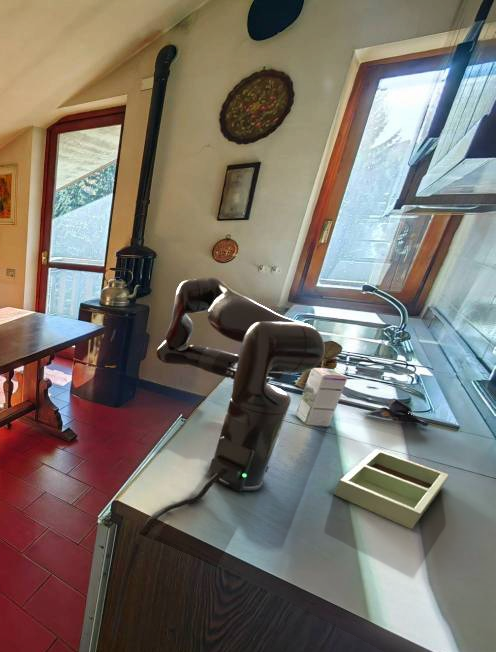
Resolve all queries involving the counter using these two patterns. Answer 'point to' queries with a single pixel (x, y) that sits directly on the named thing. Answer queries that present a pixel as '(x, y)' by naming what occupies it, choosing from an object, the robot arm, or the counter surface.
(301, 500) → the counter surface
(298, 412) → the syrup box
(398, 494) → the holder
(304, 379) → the tan boot
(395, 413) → the snack package
